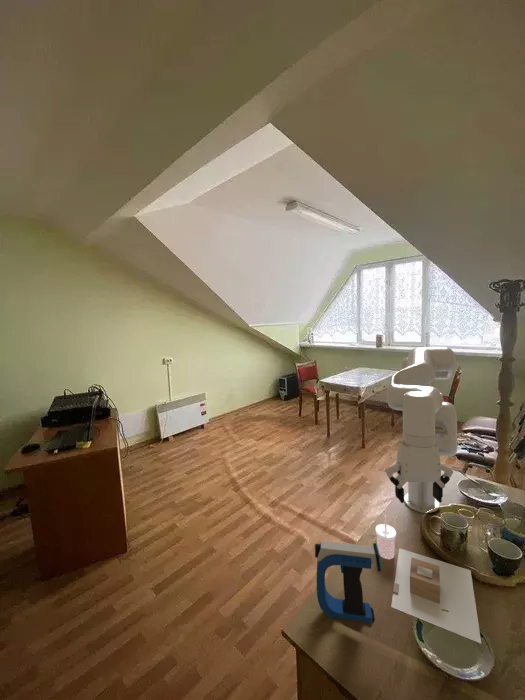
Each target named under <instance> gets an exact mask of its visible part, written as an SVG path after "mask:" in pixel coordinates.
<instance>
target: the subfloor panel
mask: <svg viewBox="0 0 525 700" xmlns="http://www.w3.org/2000/svg"><path fill="white" fill-rule="evenodd" d="M411 557H412V558H415V559H418V560H421V561H424V562H428V563H431V564H434V565H437V566H439V571H440V604H439V603H436V602H433V601H431V600H428V599H425V598H423V597H420V596H417V595H415V594H412V593H410V568H411ZM394 578H395V579H394V582H393V583H394V584H393V590H392V599H391V605H390V607H391V608H392V609H395V610H396V611H399V612H402V613H405V614H407V615H409V616H412V617H415V618H417V619H418V620H419V619H420V620H422V621H424V622H427V623H430V624H432V625H434V626H436V627H439V628H441V629H444V630H447V631H449V632H451V633H454V634H457V635H458V636H461V637H463V638H466V639H468V640H470V641H473V642H475V643H478V644H482V639H481V632H480V625H479V619H478V618H479V617H478V611H477V603H476V597H475V593H474V592H475V591H474V585H473V578H472V571H471V569H468V568H463V567H460V566H457V565H455V564H451V563H448V562H445V561H442V560H439V559H435V558H432V557H430V556H426V555H422V554H419V553H416V552H412V551H409V550H407V549H403V548H398V556H397V562H396V570H395V576H394ZM441 609H445V610H448V611H449V612H446V611H442V610H441Z"/></svg>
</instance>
